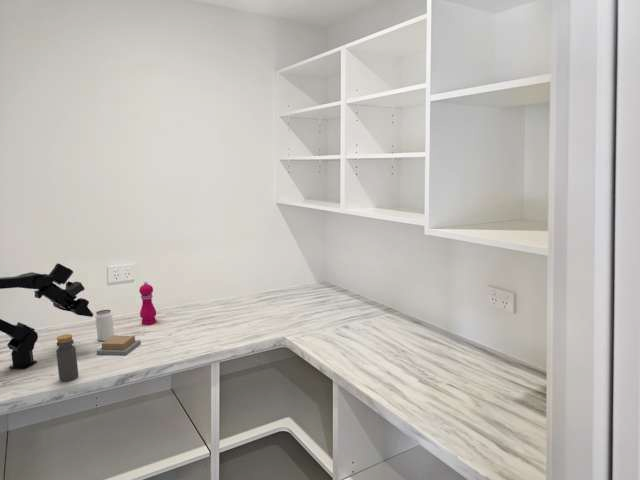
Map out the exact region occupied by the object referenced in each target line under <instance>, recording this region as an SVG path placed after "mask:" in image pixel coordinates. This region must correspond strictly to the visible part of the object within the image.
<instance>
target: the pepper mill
mask: <svg viewBox="0 0 640 480" xmlns="http://www.w3.org/2000/svg"><path fill="white" fill-rule="evenodd" d="M138 290H139V294H140V299H141V301H142V303H141V308H140V311H139V317H140V318H141V324H142V325H143V326H148V325H154V324H156V322H157V319H156V316H157V310H156V308H155V306H154V304H153V292H154V287H153V286H152V285H151V284H149V283H148V281H146V280H145V281H143V284H142V285H141V286H140V287H139V289H138Z"/></svg>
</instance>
